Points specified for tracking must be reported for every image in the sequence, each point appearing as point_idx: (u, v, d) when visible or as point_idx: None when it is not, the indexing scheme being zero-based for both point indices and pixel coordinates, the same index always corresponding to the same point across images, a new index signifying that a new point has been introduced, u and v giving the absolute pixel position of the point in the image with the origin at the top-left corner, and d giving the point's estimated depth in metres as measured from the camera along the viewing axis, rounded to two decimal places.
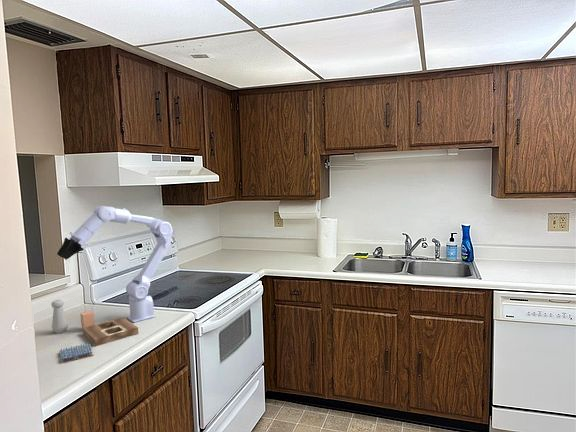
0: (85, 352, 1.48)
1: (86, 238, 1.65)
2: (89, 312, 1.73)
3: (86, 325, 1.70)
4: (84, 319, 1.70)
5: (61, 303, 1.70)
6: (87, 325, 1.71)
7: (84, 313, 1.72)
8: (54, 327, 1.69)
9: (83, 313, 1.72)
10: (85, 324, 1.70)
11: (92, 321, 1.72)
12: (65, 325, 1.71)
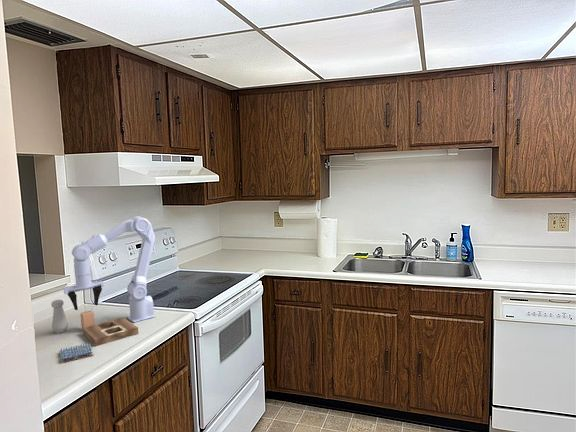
0: (85, 352, 1.48)
1: (78, 283, 1.68)
2: (89, 312, 1.73)
3: (86, 325, 1.70)
4: (84, 319, 1.70)
5: (61, 303, 1.70)
6: (87, 325, 1.71)
7: (84, 313, 1.72)
8: (54, 327, 1.69)
9: (83, 313, 1.72)
10: (85, 324, 1.70)
11: (92, 321, 1.72)
12: (65, 325, 1.71)
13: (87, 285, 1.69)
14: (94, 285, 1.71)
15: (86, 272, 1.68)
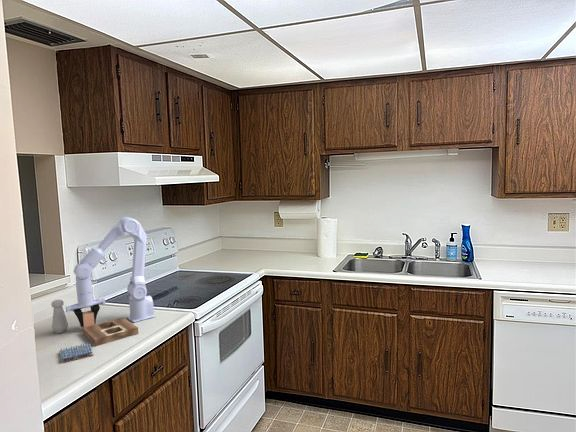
0: (85, 352, 1.48)
1: (79, 301, 1.69)
2: (89, 312, 1.73)
3: (86, 325, 1.70)
4: (84, 319, 1.70)
5: (61, 303, 1.70)
6: (87, 325, 1.71)
7: (84, 313, 1.72)
8: (54, 327, 1.69)
9: (83, 313, 1.72)
10: (85, 324, 1.70)
11: (92, 321, 1.72)
12: (65, 325, 1.71)
13: (89, 303, 1.70)
14: (96, 303, 1.72)
15: (88, 290, 1.69)
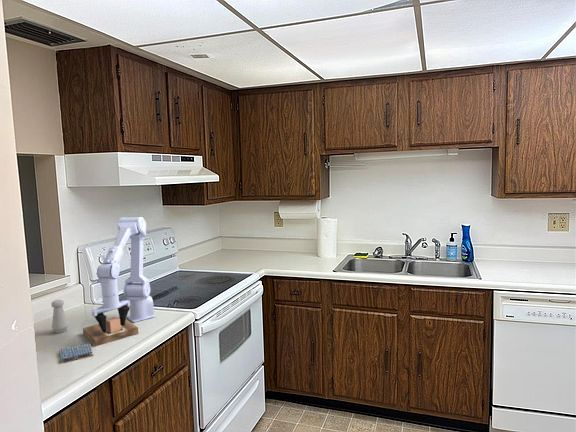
0: (85, 352, 1.48)
1: (106, 303, 1.60)
2: (114, 318, 1.64)
3: (113, 332, 1.62)
4: (111, 326, 1.61)
5: (61, 303, 1.70)
6: (114, 332, 1.62)
7: (110, 320, 1.63)
8: (54, 327, 1.69)
9: (108, 320, 1.63)
10: (112, 331, 1.62)
11: (119, 327, 1.64)
12: (65, 325, 1.71)
13: (116, 305, 1.61)
14: (122, 305, 1.64)
15: (117, 290, 1.63)
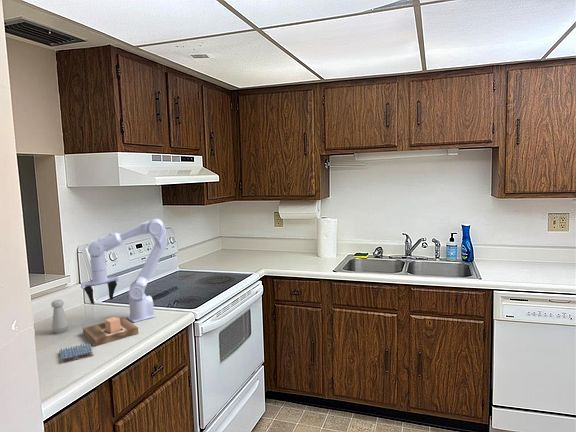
0: (85, 352, 1.48)
1: (94, 278, 1.75)
2: (115, 318, 1.64)
3: (113, 332, 1.62)
4: (111, 326, 1.61)
5: (61, 303, 1.70)
6: (114, 332, 1.62)
7: (110, 320, 1.63)
8: (54, 327, 1.69)
9: (109, 320, 1.63)
10: (112, 331, 1.62)
11: (119, 327, 1.64)
12: (65, 325, 1.71)
13: (103, 280, 1.76)
14: (109, 280, 1.78)
15: (100, 268, 1.75)
